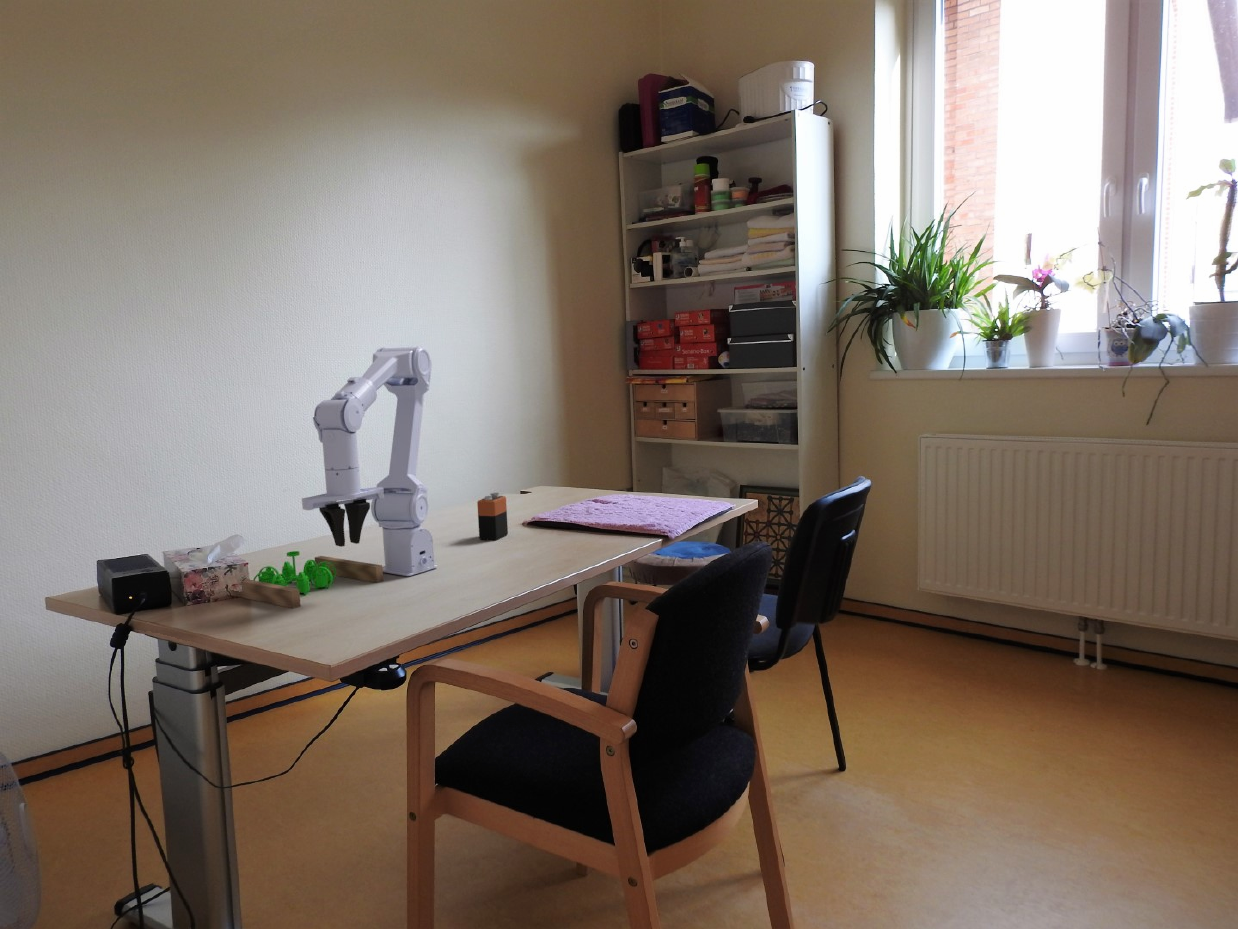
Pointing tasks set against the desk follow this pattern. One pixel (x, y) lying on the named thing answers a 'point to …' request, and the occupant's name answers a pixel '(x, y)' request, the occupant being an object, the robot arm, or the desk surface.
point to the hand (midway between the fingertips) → (347, 544)
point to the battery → (492, 517)
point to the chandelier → (303, 578)
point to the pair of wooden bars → (291, 595)
